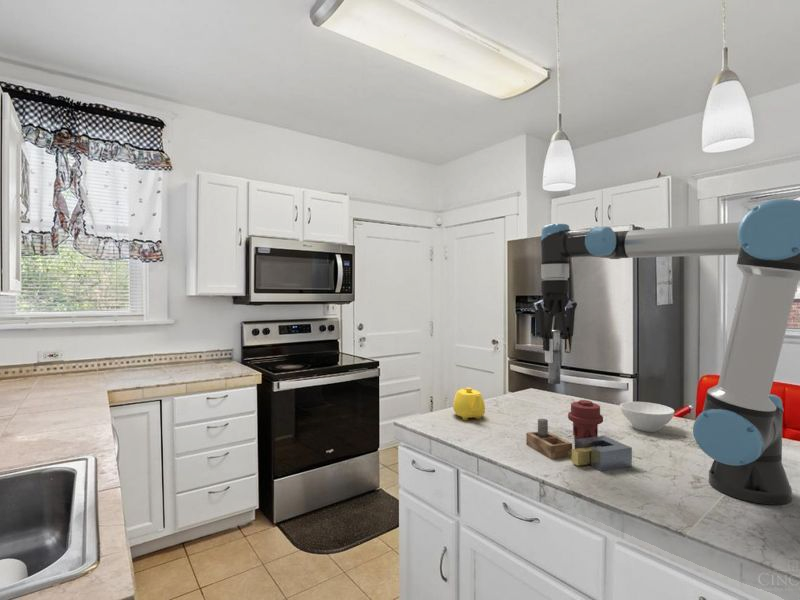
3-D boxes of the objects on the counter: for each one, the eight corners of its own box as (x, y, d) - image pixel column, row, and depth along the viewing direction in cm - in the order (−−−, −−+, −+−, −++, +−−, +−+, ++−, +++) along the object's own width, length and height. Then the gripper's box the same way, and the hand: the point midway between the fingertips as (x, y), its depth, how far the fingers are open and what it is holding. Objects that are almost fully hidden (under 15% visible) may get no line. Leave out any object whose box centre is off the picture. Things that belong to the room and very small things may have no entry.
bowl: (675, 439, 137) (675, 416, 137) (618, 431, 145) (618, 410, 145) (673, 425, 151) (673, 405, 151) (621, 418, 159) (621, 399, 159)
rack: (572, 455, 124) (572, 427, 124) (551, 458, 122) (551, 430, 122) (546, 441, 135) (546, 416, 135) (526, 444, 133) (526, 418, 133)
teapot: (494, 423, 155) (494, 393, 154) (464, 425, 152) (464, 394, 152) (474, 409, 172) (474, 382, 172) (447, 411, 170) (447, 384, 169)
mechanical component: (598, 436, 140) (606, 447, 130) (565, 434, 142) (570, 445, 132) (598, 398, 139) (607, 406, 130) (565, 396, 141) (571, 404, 132)
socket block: (631, 466, 116) (631, 447, 116) (600, 471, 113) (600, 451, 113) (603, 453, 126) (604, 435, 126) (574, 457, 123) (574, 439, 123)
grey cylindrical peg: (562, 383, 125) (563, 330, 124) (552, 384, 124) (553, 331, 123) (555, 381, 128) (556, 329, 127) (546, 381, 127) (546, 330, 126)
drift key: (599, 462, 118) (599, 449, 118) (577, 465, 116) (577, 452, 116) (593, 459, 120) (593, 446, 120) (571, 462, 118) (571, 449, 118)
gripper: (570, 279, 131) (570, 358, 131) (522, 279, 126) (522, 361, 127) (588, 279, 124) (587, 362, 124) (538, 279, 119) (537, 365, 119)
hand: (554, 361), depth 125 cm, fingers closed on grey cylindrical peg, 3 cm apart
